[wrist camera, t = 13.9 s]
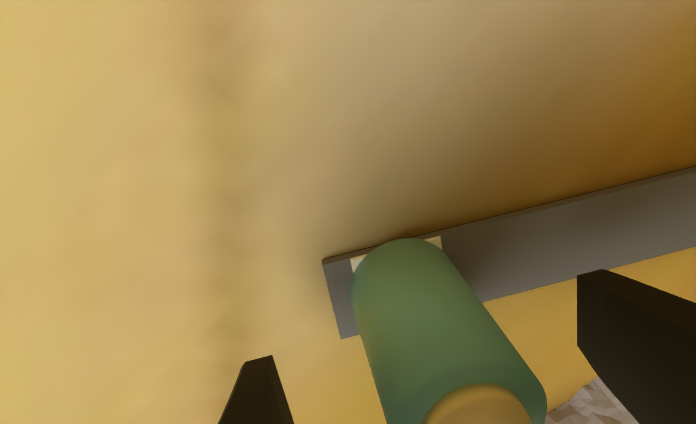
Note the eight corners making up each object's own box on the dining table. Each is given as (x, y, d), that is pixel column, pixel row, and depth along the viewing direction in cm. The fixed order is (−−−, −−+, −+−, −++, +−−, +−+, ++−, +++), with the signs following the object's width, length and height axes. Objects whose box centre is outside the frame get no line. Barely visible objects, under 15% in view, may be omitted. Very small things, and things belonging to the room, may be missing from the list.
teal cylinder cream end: (459, 317, 15) (560, 477, 10) (359, 343, 14) (410, 519, 10) (449, 226, 13) (556, 356, 9) (340, 253, 13) (386, 402, 8)
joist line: (1001, 160, 16) (1018, 164, 16) (339, 332, 15) (341, 341, 14) (1030, 82, 15) (1049, 84, 15) (321, 260, 14) (323, 266, 13)
